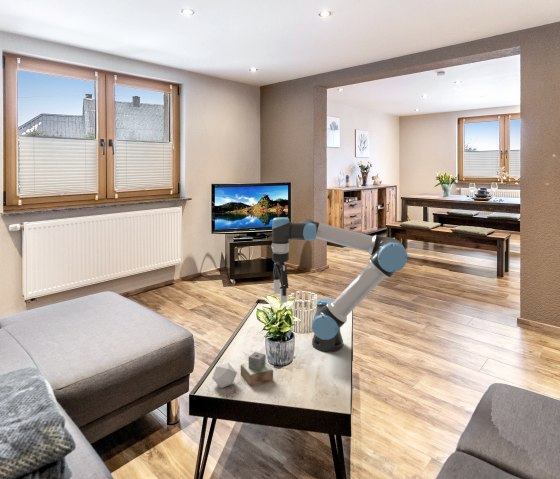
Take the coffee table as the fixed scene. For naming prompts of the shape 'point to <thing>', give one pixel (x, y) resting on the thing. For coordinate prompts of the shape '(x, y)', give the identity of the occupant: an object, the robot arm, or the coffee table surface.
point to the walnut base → (256, 375)
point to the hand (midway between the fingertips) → (279, 297)
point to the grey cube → (257, 361)
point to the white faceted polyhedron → (224, 375)
